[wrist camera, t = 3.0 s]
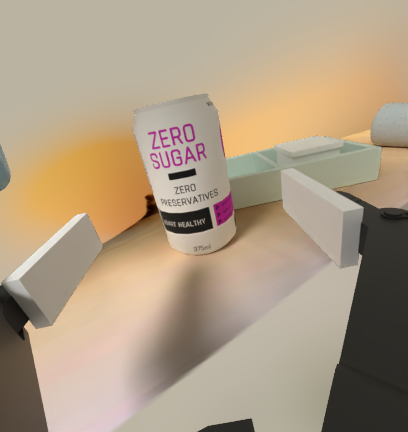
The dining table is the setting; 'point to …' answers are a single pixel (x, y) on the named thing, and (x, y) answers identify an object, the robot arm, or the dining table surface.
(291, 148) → the pale grey square block
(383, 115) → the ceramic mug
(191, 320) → the dining table surface
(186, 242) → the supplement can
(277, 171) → the divided tray
